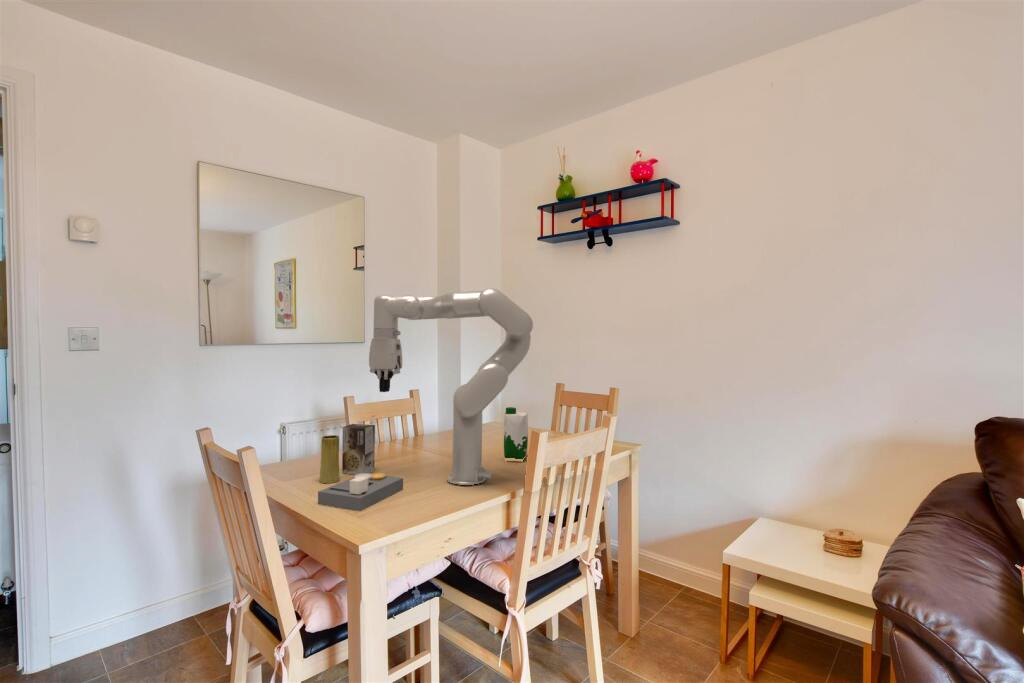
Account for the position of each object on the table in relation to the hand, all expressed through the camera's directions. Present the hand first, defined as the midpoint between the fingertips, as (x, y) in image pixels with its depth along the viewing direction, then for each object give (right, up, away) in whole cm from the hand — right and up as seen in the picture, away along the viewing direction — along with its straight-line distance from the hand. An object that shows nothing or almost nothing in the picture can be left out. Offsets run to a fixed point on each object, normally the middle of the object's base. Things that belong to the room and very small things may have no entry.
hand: (384, 391), depth 159 cm
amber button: (0, -28, -8) cm, 29 cm away
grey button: (-3, -26, -14) cm, 30 cm away
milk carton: (+42, -30, +32) cm, 61 cm away
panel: (-3, -29, -14) cm, 33 cm away
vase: (-18, -29, 0) cm, 34 cm away
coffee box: (-12, -29, +11) cm, 33 cm away
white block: (-1, -28, -22) cm, 36 cm away
